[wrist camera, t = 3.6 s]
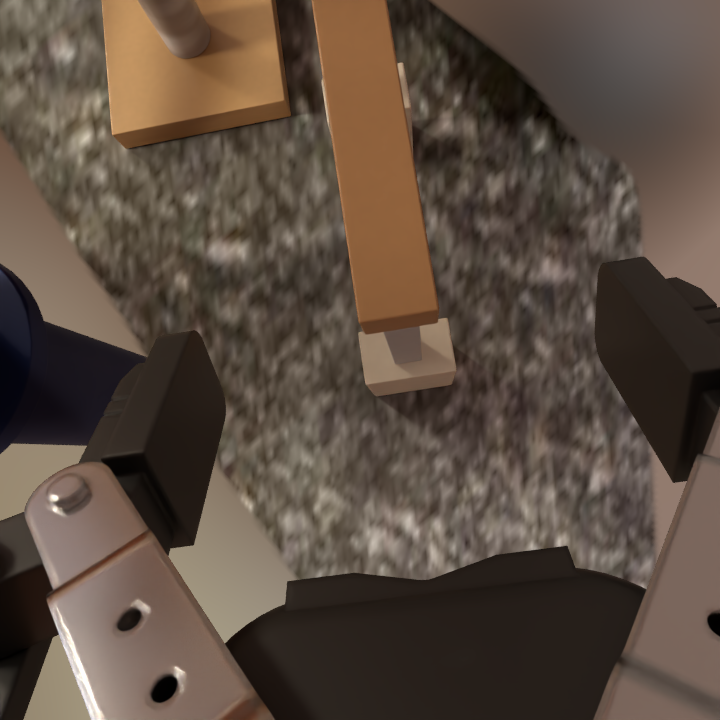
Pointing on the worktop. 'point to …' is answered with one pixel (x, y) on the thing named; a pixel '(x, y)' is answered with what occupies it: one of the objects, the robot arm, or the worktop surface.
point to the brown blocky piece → (381, 200)
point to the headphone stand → (192, 67)
